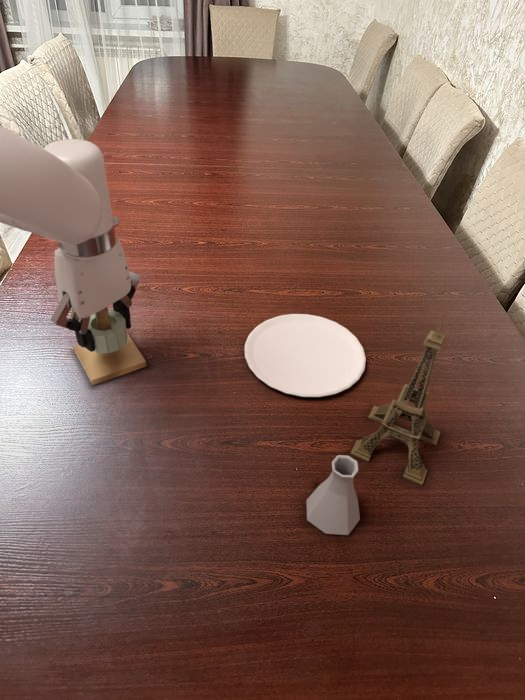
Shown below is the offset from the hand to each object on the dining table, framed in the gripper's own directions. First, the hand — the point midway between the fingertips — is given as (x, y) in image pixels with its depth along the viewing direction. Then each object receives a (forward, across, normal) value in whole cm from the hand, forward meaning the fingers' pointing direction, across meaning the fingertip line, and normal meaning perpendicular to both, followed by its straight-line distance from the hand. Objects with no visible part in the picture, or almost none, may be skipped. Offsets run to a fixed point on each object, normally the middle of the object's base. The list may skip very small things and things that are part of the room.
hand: (105, 335), depth 83 cm
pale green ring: (+1, 0, 0) cm, 1 cm away
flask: (+5, 0, +44) cm, 44 cm away
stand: (+5, 0, 0) cm, 5 cm away
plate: (+5, -22, +24) cm, 33 cm away
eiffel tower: (+5, -16, +45) cm, 48 cm away
